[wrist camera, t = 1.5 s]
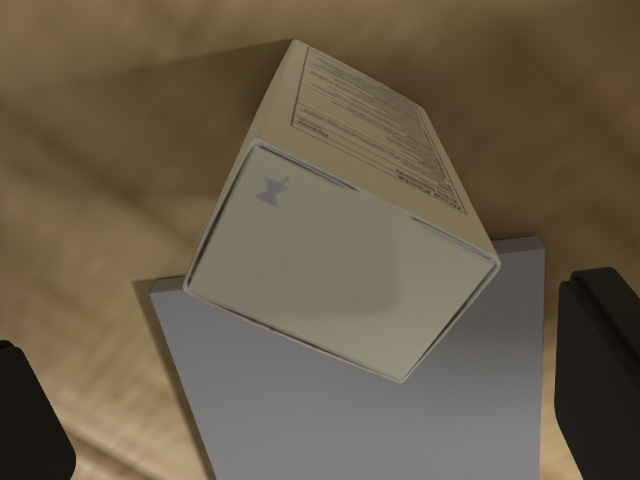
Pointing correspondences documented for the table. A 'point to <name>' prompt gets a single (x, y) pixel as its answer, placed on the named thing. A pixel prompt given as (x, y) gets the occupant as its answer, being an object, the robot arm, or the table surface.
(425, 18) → the table surface
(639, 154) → the table surface
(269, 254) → the skincare box
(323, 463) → the slate board
